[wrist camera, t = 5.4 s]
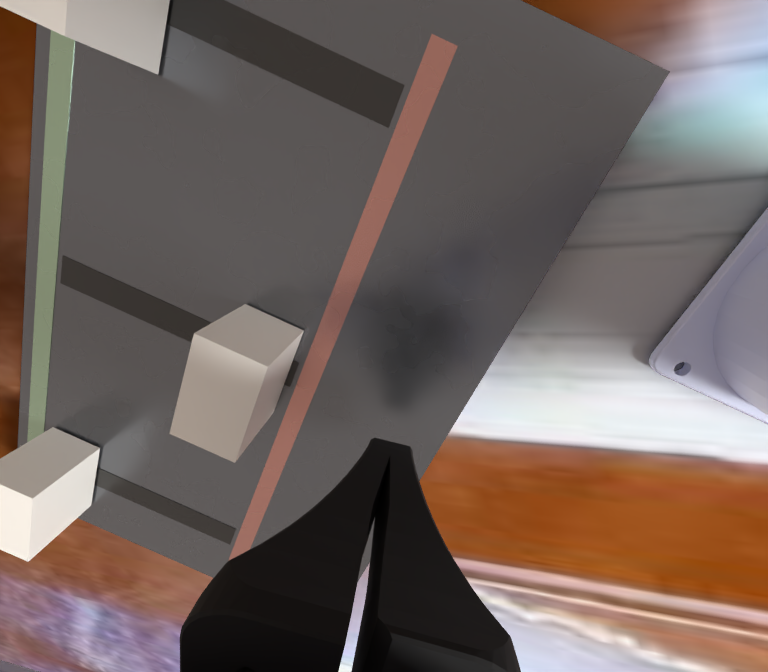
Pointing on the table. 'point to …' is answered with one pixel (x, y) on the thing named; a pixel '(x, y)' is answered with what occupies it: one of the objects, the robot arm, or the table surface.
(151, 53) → the breaker
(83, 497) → the block
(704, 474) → the table surface
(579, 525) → the table surface
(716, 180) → the table surface
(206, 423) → the breaker mid
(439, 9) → the panel
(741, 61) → the table surface
